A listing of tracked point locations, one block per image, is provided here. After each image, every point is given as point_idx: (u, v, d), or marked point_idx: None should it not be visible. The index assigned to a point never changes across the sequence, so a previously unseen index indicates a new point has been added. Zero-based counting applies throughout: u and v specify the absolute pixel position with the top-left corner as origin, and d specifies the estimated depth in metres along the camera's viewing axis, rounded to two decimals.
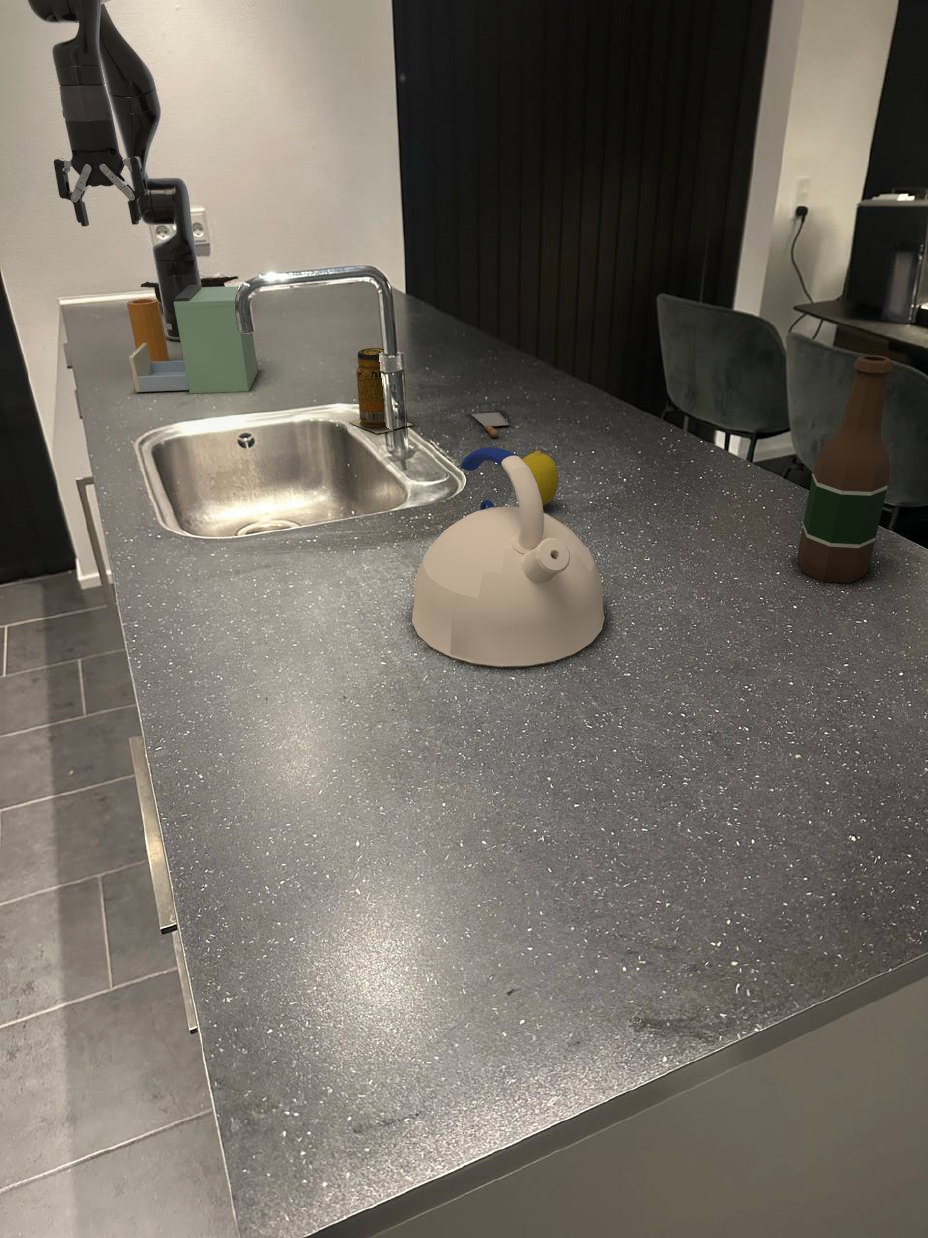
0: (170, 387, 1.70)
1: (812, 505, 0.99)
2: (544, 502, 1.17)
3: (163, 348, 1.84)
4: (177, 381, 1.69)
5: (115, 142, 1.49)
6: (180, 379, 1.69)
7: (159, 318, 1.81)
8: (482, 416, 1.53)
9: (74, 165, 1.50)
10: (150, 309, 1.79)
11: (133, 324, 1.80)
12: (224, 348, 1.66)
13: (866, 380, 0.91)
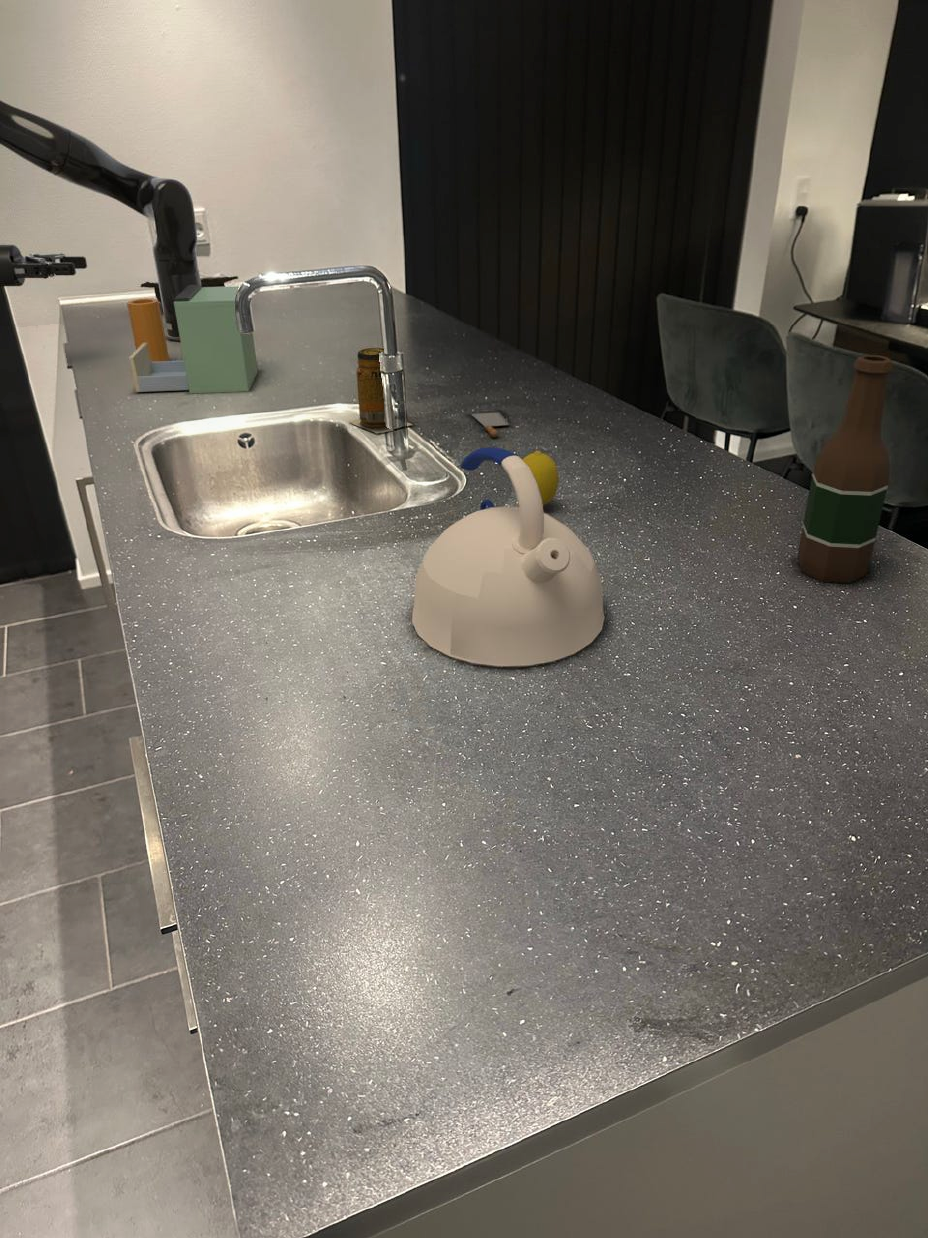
0: (170, 387, 1.70)
1: (812, 505, 0.99)
2: (544, 502, 1.17)
3: (163, 348, 1.84)
4: (177, 381, 1.69)
5: (7, 271, 1.72)
6: (180, 379, 1.69)
7: (159, 318, 1.81)
8: (482, 416, 1.53)
9: None
10: (150, 309, 1.79)
11: (133, 324, 1.80)
12: (224, 348, 1.66)
13: (866, 380, 0.91)
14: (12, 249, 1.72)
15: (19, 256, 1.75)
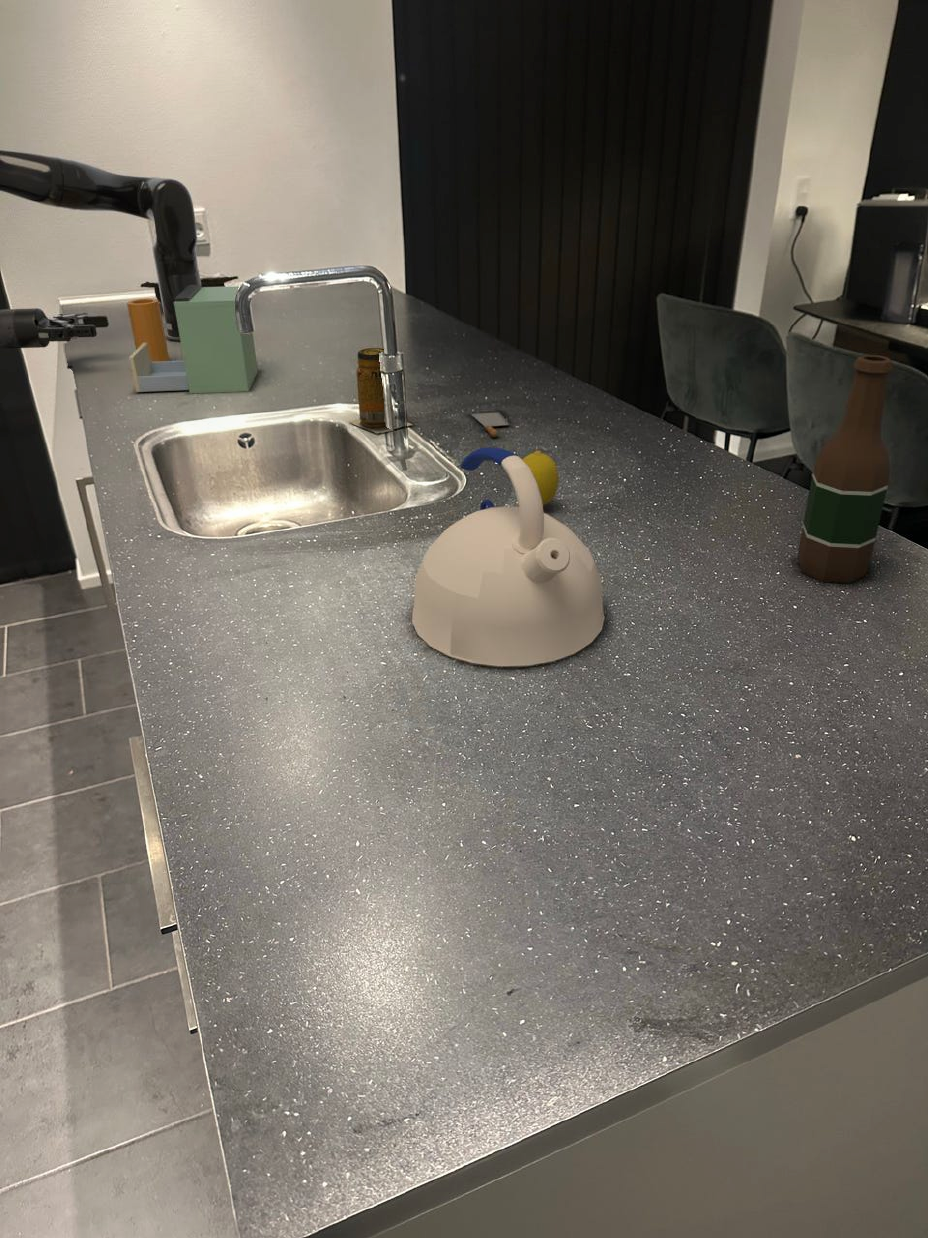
0: (170, 387, 1.70)
1: (812, 505, 0.99)
2: (544, 502, 1.17)
3: (163, 348, 1.84)
4: (177, 381, 1.69)
5: (32, 334, 1.78)
6: (180, 379, 1.69)
7: (159, 318, 1.81)
8: (482, 416, 1.53)
9: None
10: (150, 309, 1.79)
11: (133, 324, 1.80)
12: (224, 348, 1.66)
13: (866, 380, 0.91)
14: (36, 313, 1.79)
15: (44, 318, 1.82)
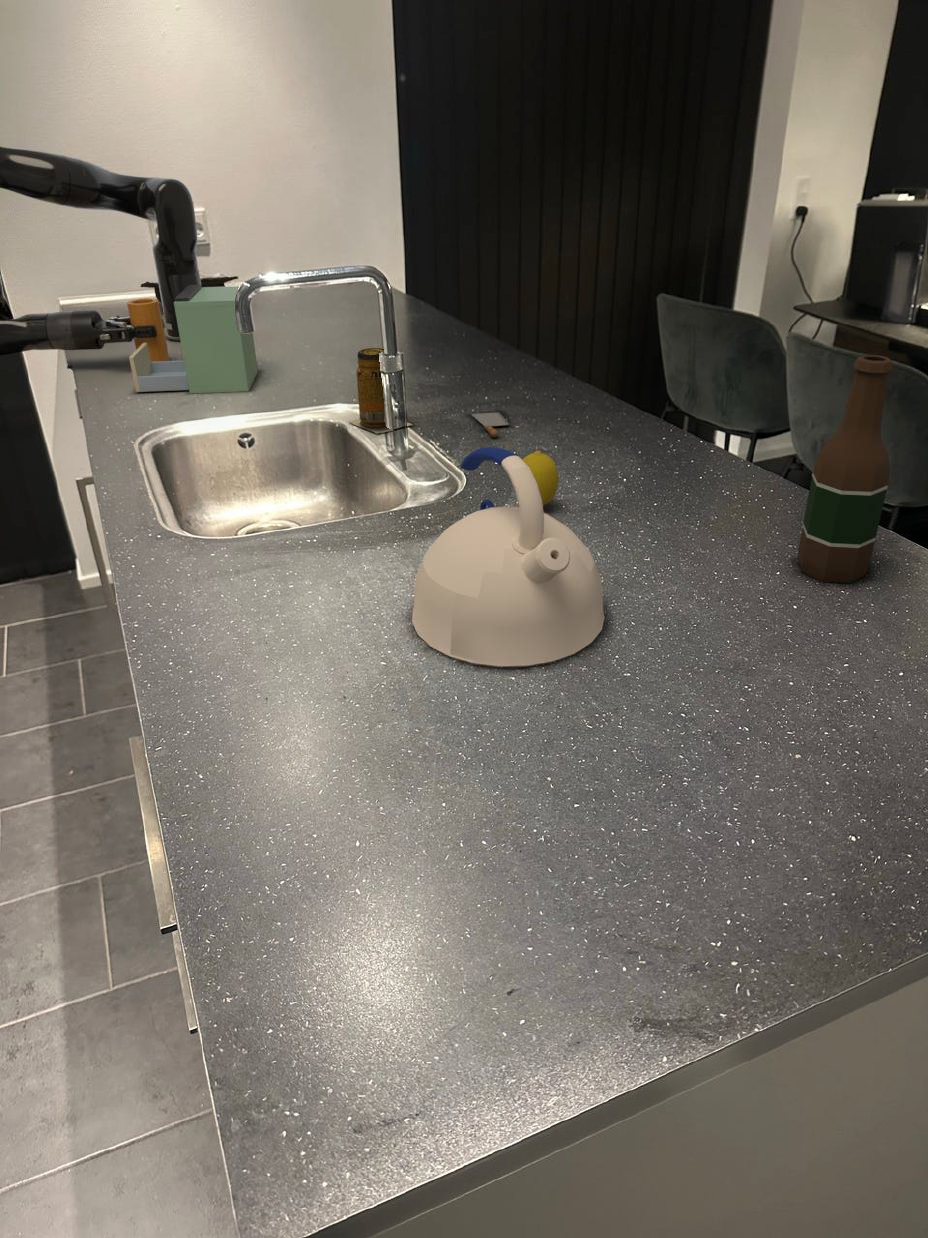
0: (170, 387, 1.70)
1: (812, 505, 0.99)
2: (544, 502, 1.17)
3: (163, 348, 1.84)
4: (177, 381, 1.69)
5: (89, 336, 1.79)
6: (180, 379, 1.69)
7: (159, 318, 1.81)
8: (482, 416, 1.53)
9: None
10: (150, 309, 1.79)
11: (133, 324, 1.80)
12: (224, 348, 1.66)
13: (866, 380, 0.91)
14: (93, 315, 1.80)
15: (100, 320, 1.83)
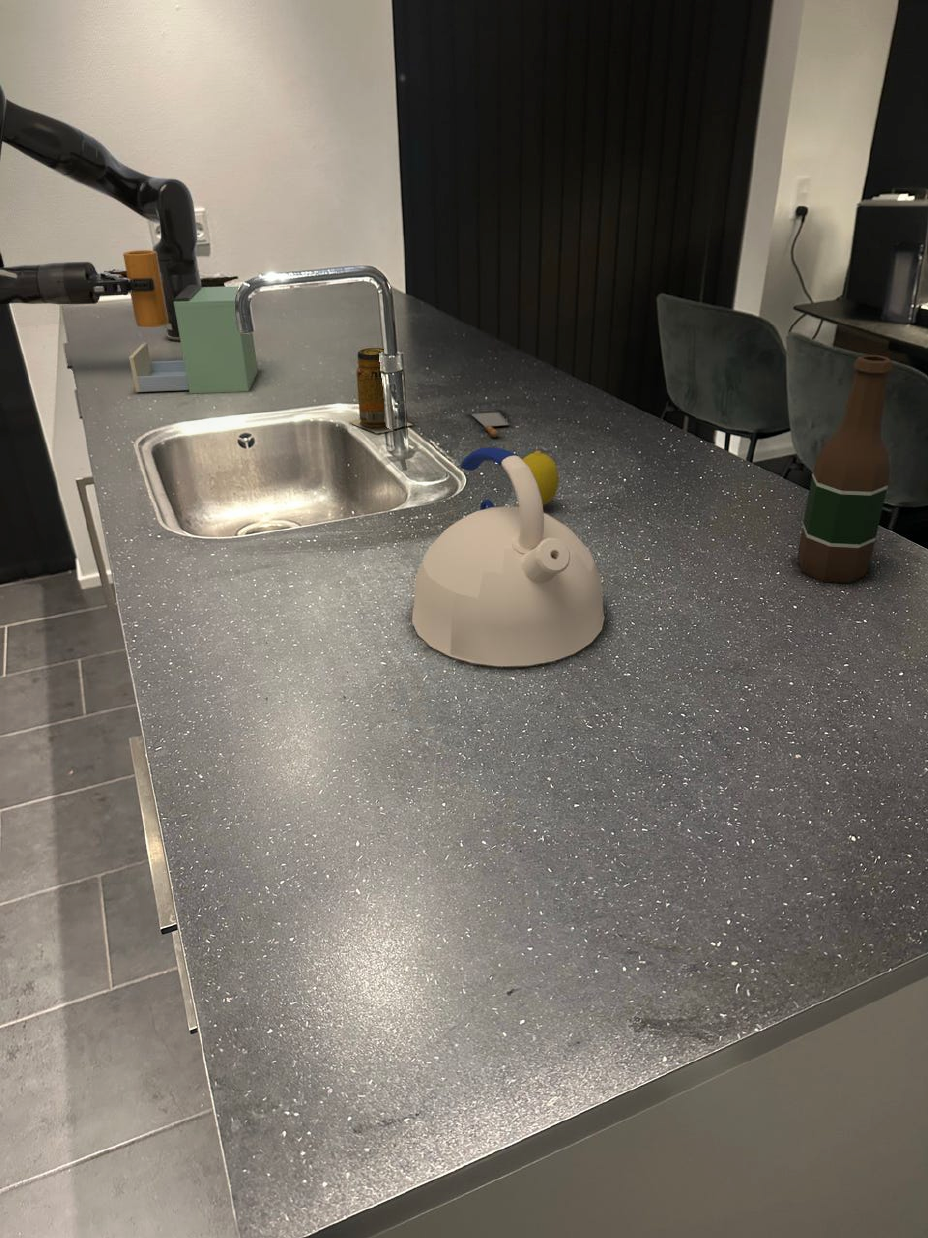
0: (170, 387, 1.70)
1: (812, 505, 0.99)
2: (544, 502, 1.17)
3: (162, 304, 1.74)
4: (177, 381, 1.69)
5: (83, 289, 1.69)
6: (180, 379, 1.69)
7: (157, 271, 1.71)
8: (482, 416, 1.53)
9: None
10: (148, 260, 1.68)
11: (129, 277, 1.70)
12: (224, 348, 1.66)
13: (866, 380, 0.91)
14: (87, 266, 1.69)
15: (94, 273, 1.72)
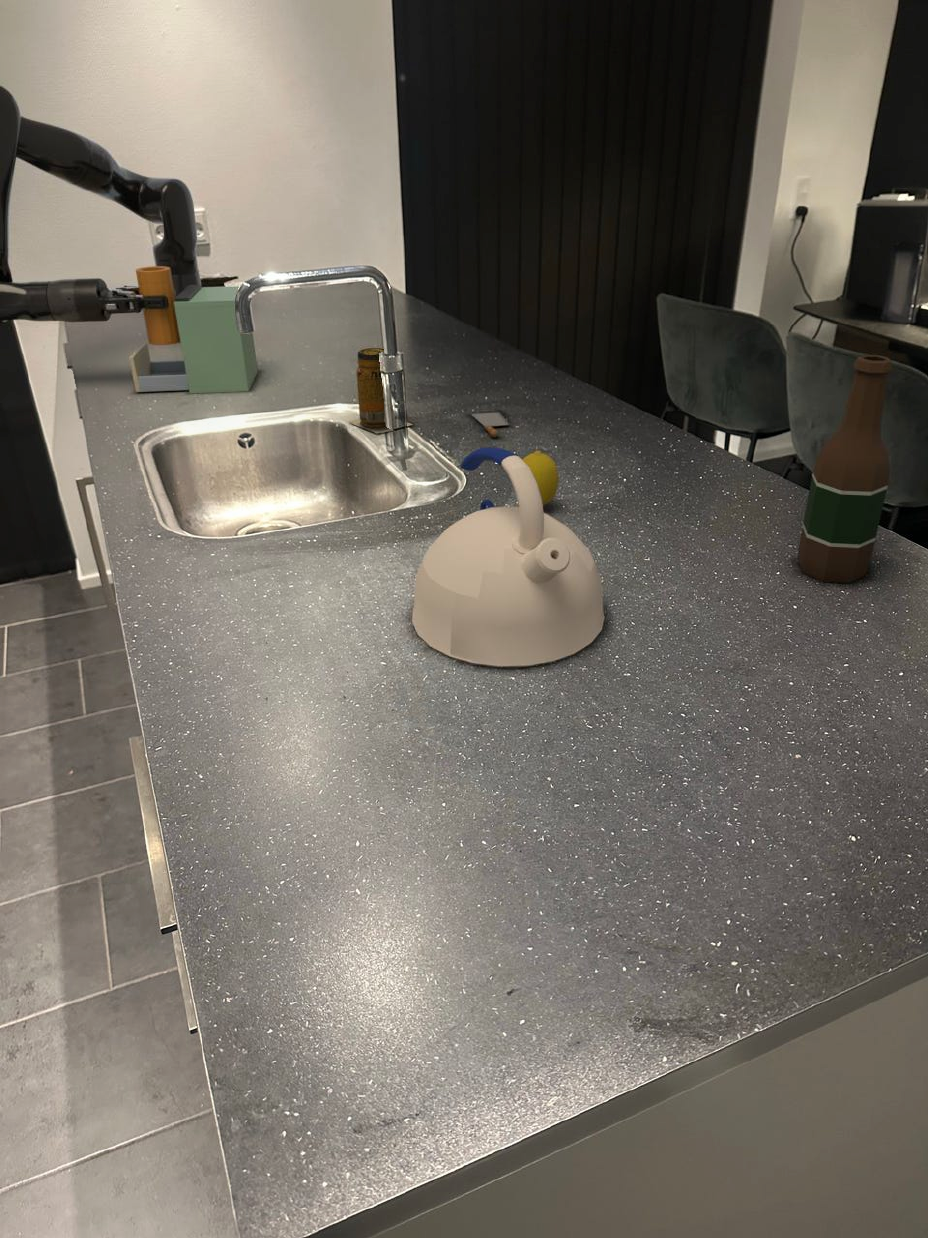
0: (170, 387, 1.70)
1: (812, 505, 0.99)
2: (544, 502, 1.17)
3: (175, 321, 1.68)
4: (177, 381, 1.69)
5: (94, 306, 1.64)
6: (180, 379, 1.69)
7: (171, 288, 1.66)
8: (482, 416, 1.53)
9: None
10: (161, 277, 1.63)
11: (142, 294, 1.64)
12: (224, 348, 1.66)
13: (866, 380, 0.91)
14: (99, 283, 1.64)
15: (106, 290, 1.67)
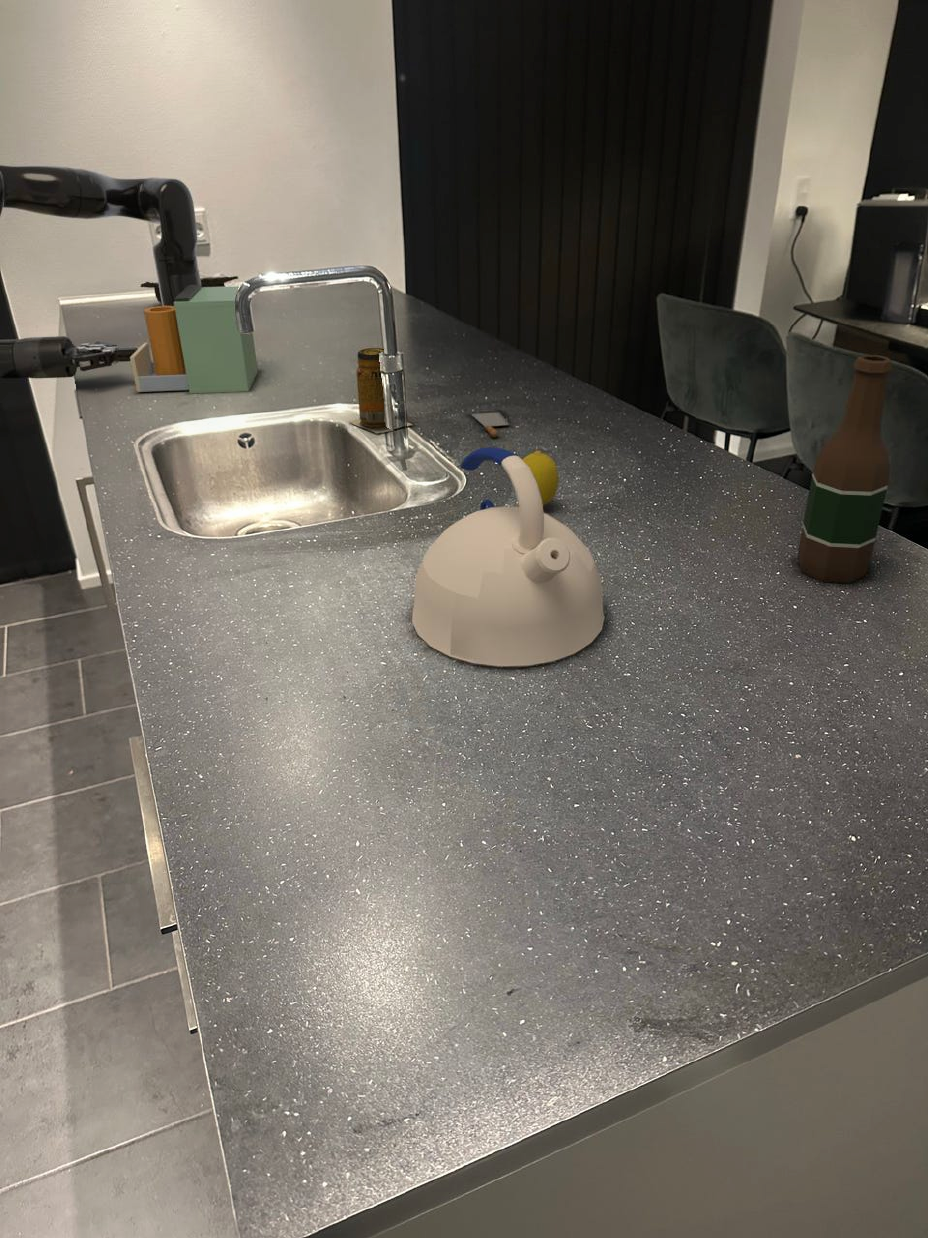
0: (170, 387, 1.70)
1: (812, 505, 0.99)
2: (544, 502, 1.17)
3: (183, 359, 1.72)
4: (178, 381, 1.69)
5: (59, 364, 1.68)
6: (181, 379, 1.69)
7: None
8: (482, 416, 1.53)
9: None
10: (169, 317, 1.67)
11: (150, 333, 1.68)
12: (224, 348, 1.66)
13: (866, 380, 0.91)
14: (63, 341, 1.68)
15: (71, 347, 1.72)
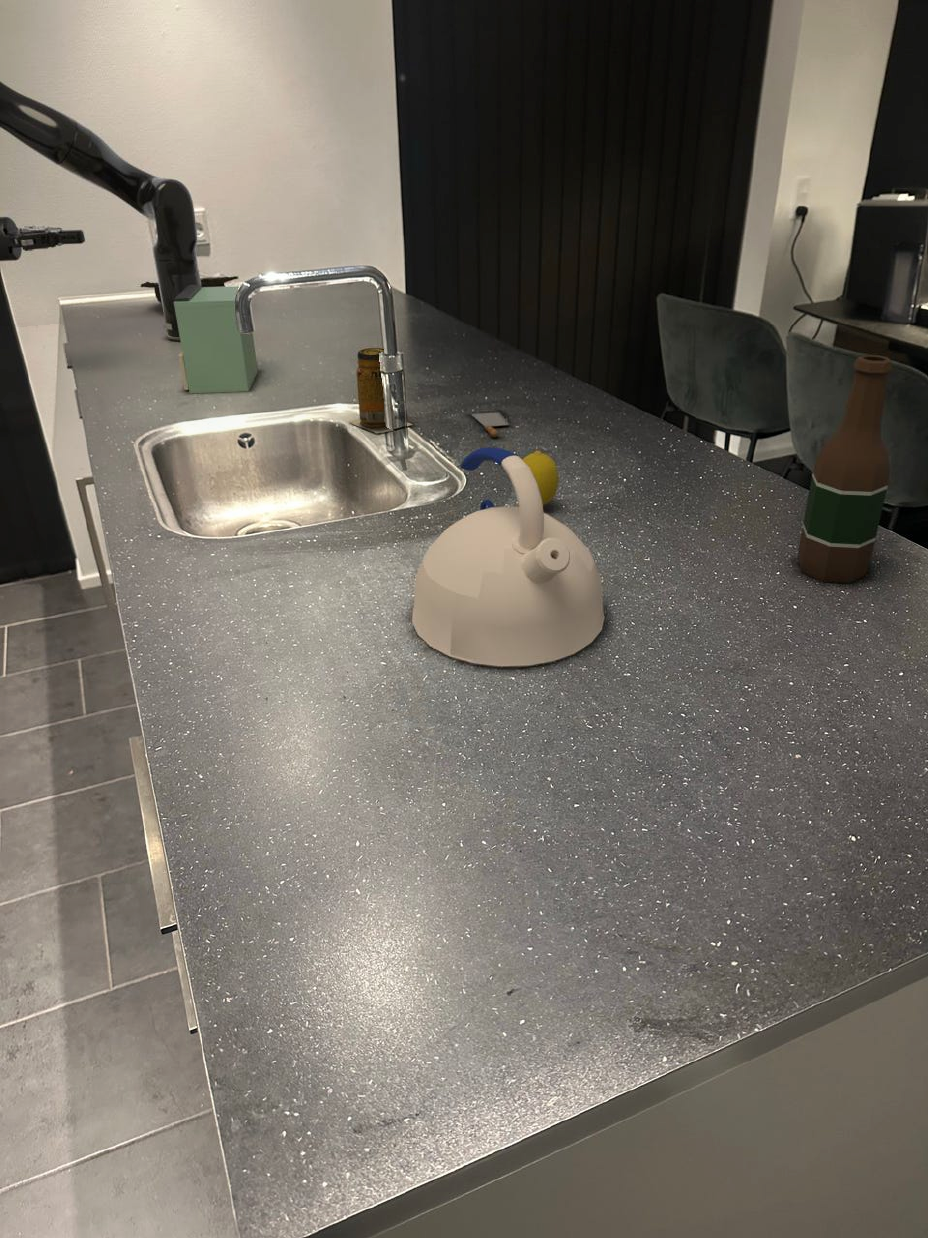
0: None
1: (812, 505, 0.99)
2: (544, 502, 1.17)
3: None
4: None
5: (1, 244, 1.65)
6: None
7: None
8: (482, 416, 1.53)
9: None
10: None
11: None
12: (224, 348, 1.66)
13: (866, 380, 0.91)
14: (6, 221, 1.65)
15: (15, 229, 1.68)
